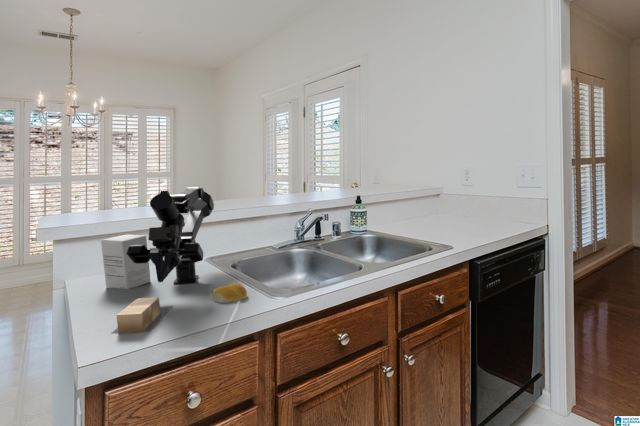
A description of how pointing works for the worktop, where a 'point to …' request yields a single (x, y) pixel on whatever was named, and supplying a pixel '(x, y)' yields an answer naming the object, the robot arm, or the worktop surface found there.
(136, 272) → the supplement box
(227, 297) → the bread roll
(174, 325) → the worktop surface
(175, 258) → the robot arm
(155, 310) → the oak block
